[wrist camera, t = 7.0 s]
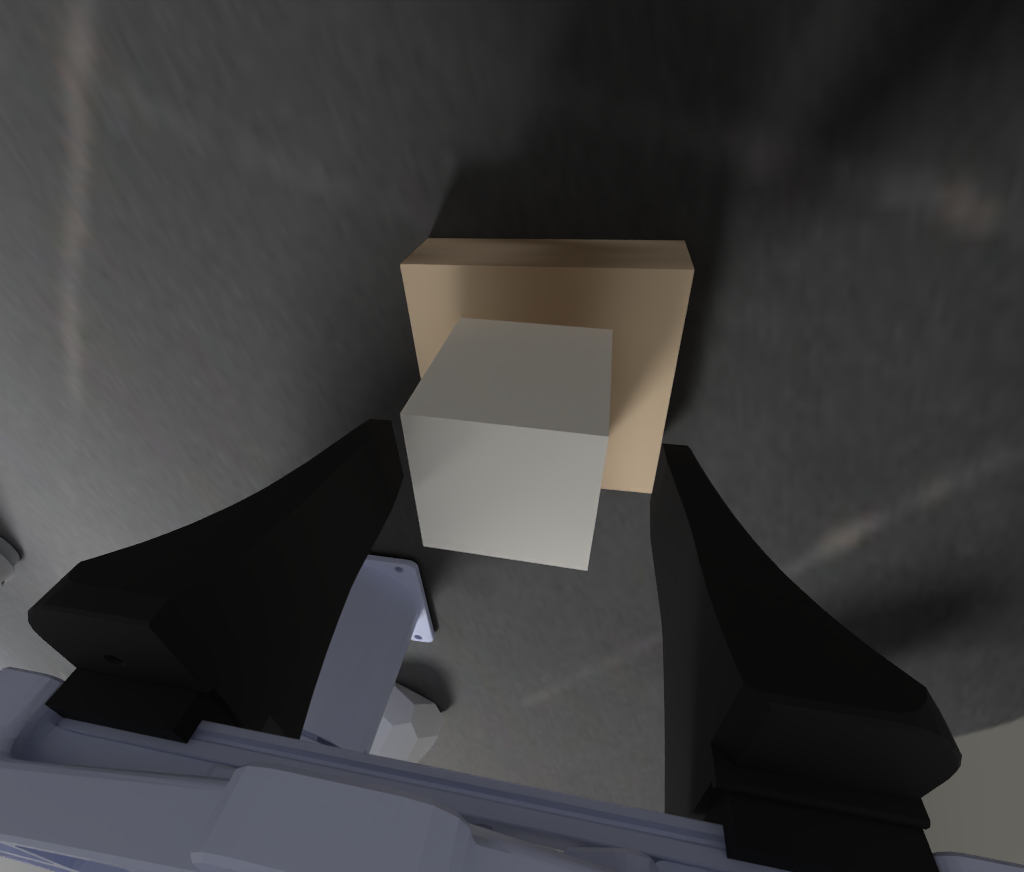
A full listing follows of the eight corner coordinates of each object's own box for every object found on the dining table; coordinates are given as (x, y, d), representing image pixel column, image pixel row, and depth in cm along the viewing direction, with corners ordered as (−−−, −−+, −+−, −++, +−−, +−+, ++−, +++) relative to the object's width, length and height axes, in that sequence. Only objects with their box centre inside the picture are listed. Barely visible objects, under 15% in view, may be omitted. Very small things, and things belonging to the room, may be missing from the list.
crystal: (337, 704, 32) (229, 758, 46) (394, 803, 31) (266, 828, 45) (414, 640, 38) (299, 705, 52) (464, 721, 37) (333, 765, 51)
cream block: (468, 436, 17) (423, 546, 13) (460, 317, 14) (400, 413, 10) (595, 450, 16) (587, 570, 13) (612, 329, 14) (609, 436, 10)
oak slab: (458, 427, 21) (438, 473, 19) (432, 234, 16) (400, 263, 14) (648, 441, 20) (651, 493, 17) (683, 236, 15) (694, 269, 12)
